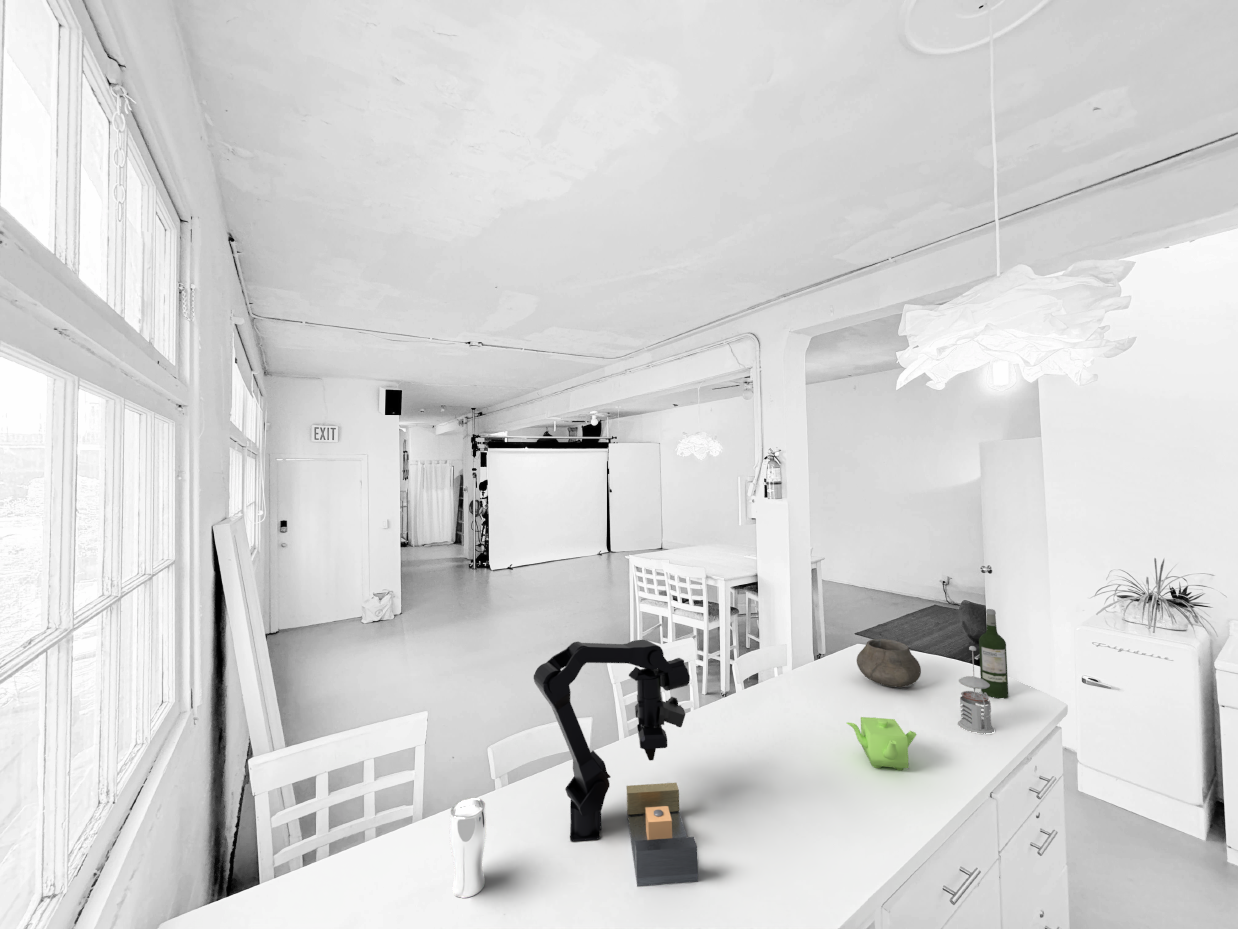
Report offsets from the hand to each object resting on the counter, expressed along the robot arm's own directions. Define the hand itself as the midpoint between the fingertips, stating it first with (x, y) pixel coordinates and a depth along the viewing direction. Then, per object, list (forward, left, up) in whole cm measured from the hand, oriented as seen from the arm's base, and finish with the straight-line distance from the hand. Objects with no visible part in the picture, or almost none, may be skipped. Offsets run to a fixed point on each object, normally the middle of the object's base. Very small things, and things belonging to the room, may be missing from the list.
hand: (651, 759), depth 125 cm
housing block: (0, -13, -10) cm, 16 cm away
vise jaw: (0, -4, -9) cm, 10 cm away
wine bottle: (+131, +51, -11) cm, 141 cm away
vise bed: (0, -13, -11) cm, 17 cm away
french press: (+106, +28, -11) cm, 110 cm away
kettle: (+66, +13, -11) cm, 68 cm away
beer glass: (-39, -21, -11) cm, 46 cm away
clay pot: (+100, +65, -11) cm, 119 cm away
